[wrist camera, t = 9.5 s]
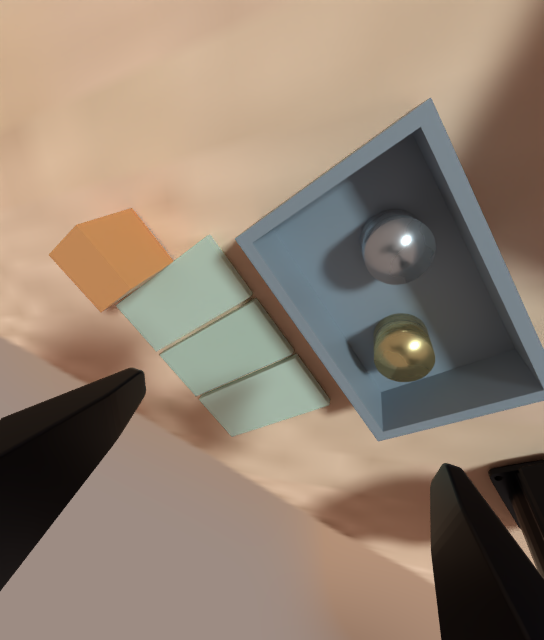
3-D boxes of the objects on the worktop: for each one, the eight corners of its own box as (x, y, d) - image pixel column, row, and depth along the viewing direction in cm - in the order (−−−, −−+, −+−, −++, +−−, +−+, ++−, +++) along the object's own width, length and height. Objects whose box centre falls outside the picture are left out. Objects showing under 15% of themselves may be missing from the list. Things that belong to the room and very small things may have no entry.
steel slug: (395, 195, 15) (407, 202, 13) (433, 240, 16) (450, 253, 14) (346, 239, 17) (350, 252, 15) (384, 279, 17) (392, 296, 15)
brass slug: (437, 345, 19) (445, 370, 17) (388, 363, 20) (390, 389, 18) (413, 304, 18) (419, 326, 16) (363, 326, 19) (363, 349, 17)
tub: (527, 347, 18) (564, 395, 15) (376, 395, 22) (378, 441, 19) (416, 106, 14) (430, 97, 11) (259, 220, 18) (234, 238, 15)
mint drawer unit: (330, 397, 24) (322, 452, 20) (235, 429, 28) (212, 480, 24) (169, 174, 19) (112, 185, 15) (84, 256, 23) (23, 282, 19)
